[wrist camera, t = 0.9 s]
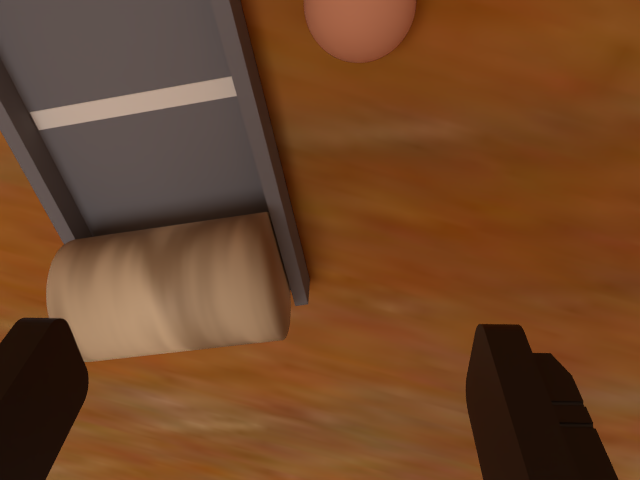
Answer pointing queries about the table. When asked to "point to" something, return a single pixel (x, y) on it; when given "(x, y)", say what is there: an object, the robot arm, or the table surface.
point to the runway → (142, 117)
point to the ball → (359, 26)
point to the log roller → (172, 288)
